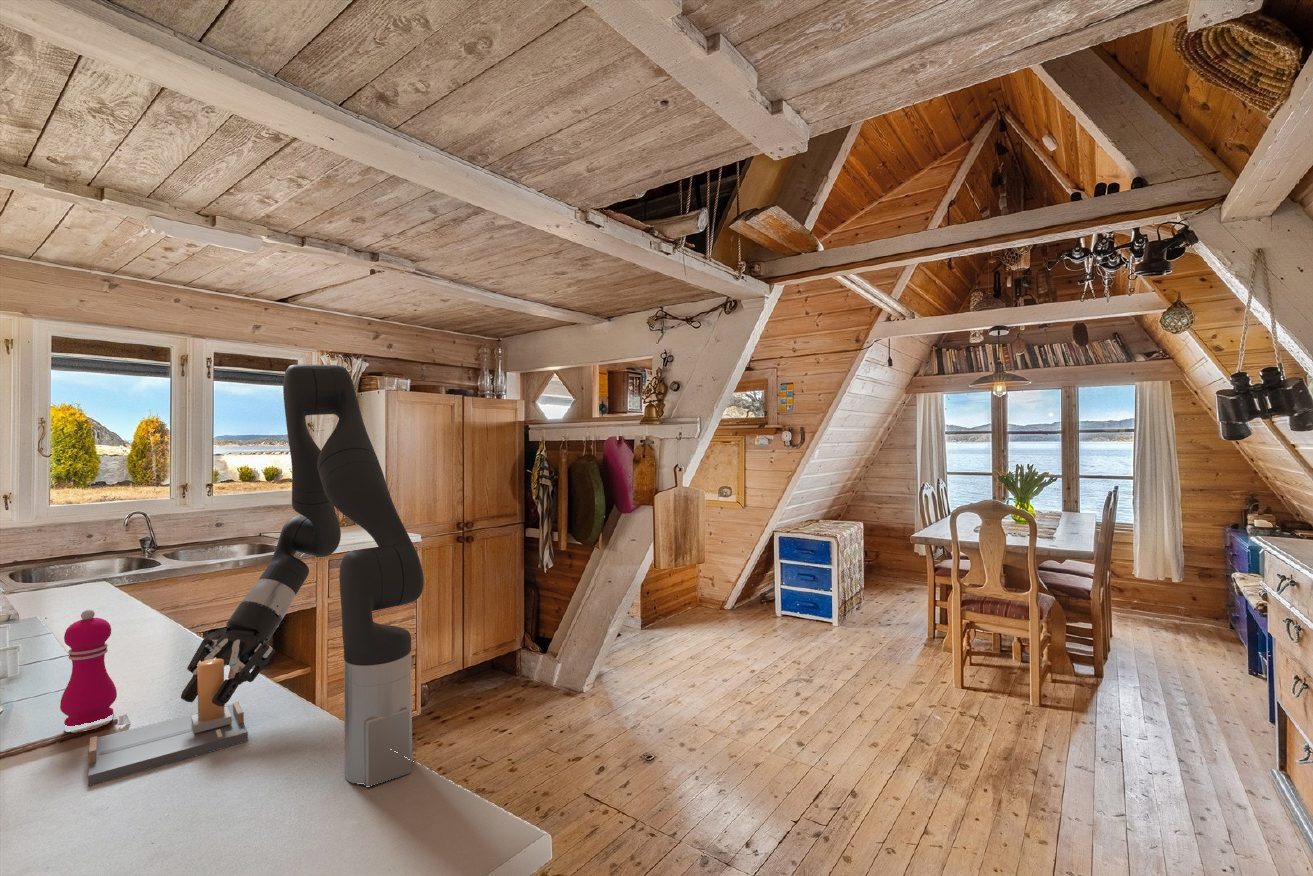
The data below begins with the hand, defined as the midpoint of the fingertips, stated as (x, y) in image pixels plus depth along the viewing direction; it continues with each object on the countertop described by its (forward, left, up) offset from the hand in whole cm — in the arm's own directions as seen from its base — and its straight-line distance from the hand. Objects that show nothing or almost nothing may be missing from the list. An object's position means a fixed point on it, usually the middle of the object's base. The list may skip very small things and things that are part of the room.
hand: (201, 702), depth 102 cm
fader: (+1, -1, -4) cm, 5 cm away
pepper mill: (+19, +14, -6) cm, 24 cm away
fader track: (+1, +4, -6) cm, 7 cm away
